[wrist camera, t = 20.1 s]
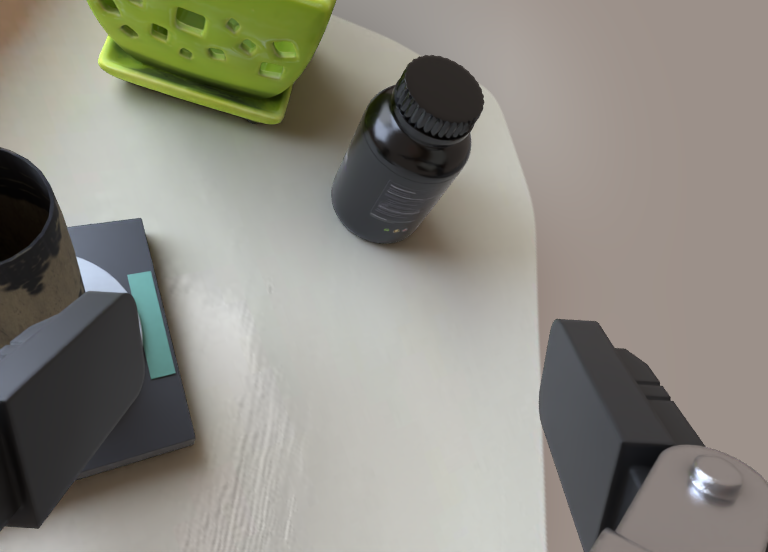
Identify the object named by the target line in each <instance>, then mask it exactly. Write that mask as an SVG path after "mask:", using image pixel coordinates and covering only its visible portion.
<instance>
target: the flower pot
mask: <svg viewBox="0 0 768 552" xmlns="http://www.w3.org/2000/svg"><path fill="white" fill-rule="evenodd" d="M87 2H88V4H89V6H90V8H91V10H92V11H93V13H94V15H95V16H96V18H97V20H98V21H99V23H100V24H101V25H102V27H103V28H104V30H105V31H106V32H107V34H108V37H107V39H106V42H105V44H104V46H103V48H102V51H101V53H100V55H99V59H98V64H99V66H100V67H101V68H102V69H103V70H104V71H106V72H107V73H109V74H110V75H112V76H115V77H117V78H119V79H122V80H125V81H128V82H131V83H133V84H136V85H139V86H143V87H146V88H149V89H152V90H155V91H158V92H161V93H164V94H167V95H170V96H174V97H177V98H180V99H183V100H186V101H189V102H193V103H196V104H199V105H202V106H206V107H209V108H212V109H216V110H219V111H223V112H226V113H229V114H233V115H236V116H239V117H243V118H246V119H247V121H249V122H250V123H254V124H256V123H259V122H260V123H264V124H278V123H280V122H281V121H282V120H283V118H284V115H285V112H286V108H287V105H288V101H289V98H290V94H291V90H292V87H293V83H294V82H295V81H296V80H297V79H298V77H299V76H300V75H301V74H302V72H303V71H304V70H305V68H306V67H307V65H308V63H309V62H310V60H311V59H312V57H313V55H314V53H315V51H316V49H317V47H318V45H319V43H320V41H321V38H322V36H323V34H324V32H325V30H326V27H327V24H328V22H329V19H330V17H331V14H332V11H333V8H334V5H335V3H336V0H87Z"/></svg>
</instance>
